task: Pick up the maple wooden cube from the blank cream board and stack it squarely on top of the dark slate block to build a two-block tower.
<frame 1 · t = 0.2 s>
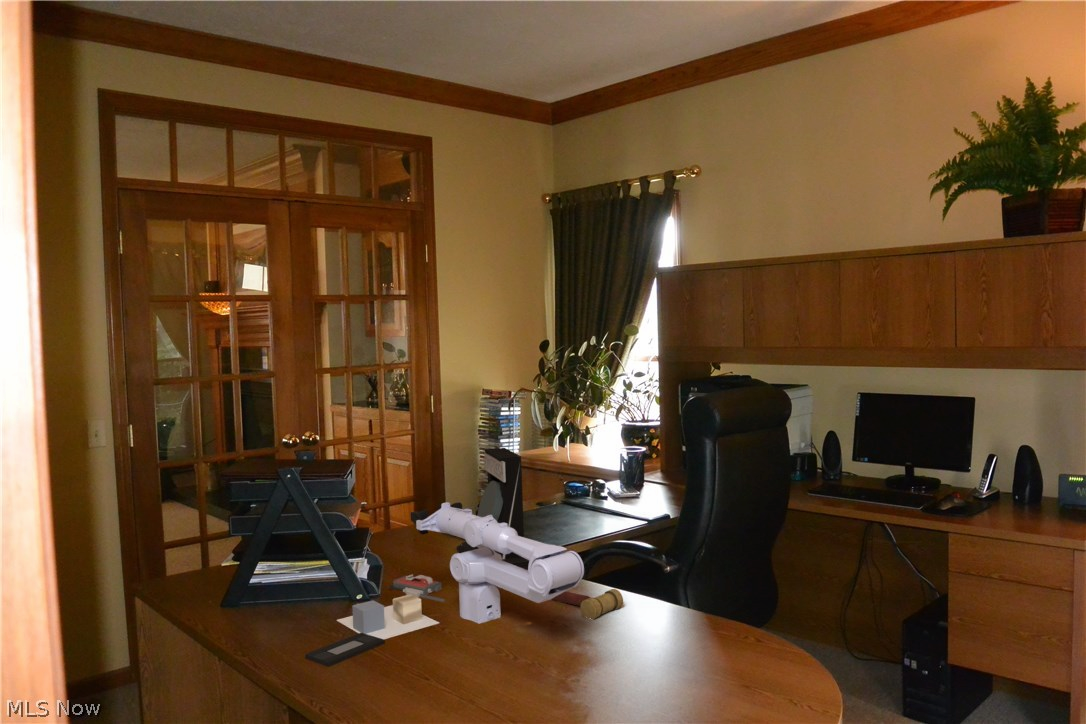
hand: (425, 513, 202), 21 cm above the table, tool horizontal, fingers open, 7 cm apart
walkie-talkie: (423, 597, 206), on the table
award: (497, 558, 238), on the table
gavel: (575, 607, 195), on the table
vhs tape: (346, 657, 169), on the table, touching blank cream board
maple cube: (407, 619, 186), point 1 cm above the table, touching blank cream board
slate block: (369, 628, 181), point 1 cm above the table, touching blank cream board
blank cream board: (387, 625, 185), on the table
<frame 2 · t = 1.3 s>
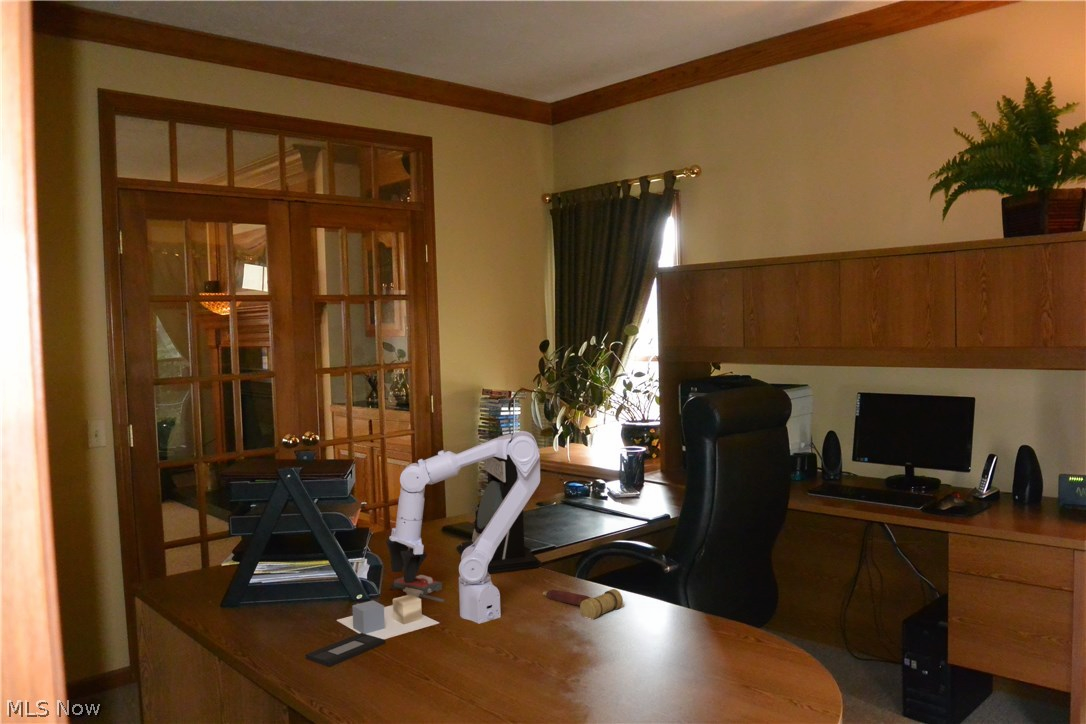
hand: (402, 576, 187), 10 cm above the table, tool pointing down, fingers open, 7 cm apart
nothing on the table moved.
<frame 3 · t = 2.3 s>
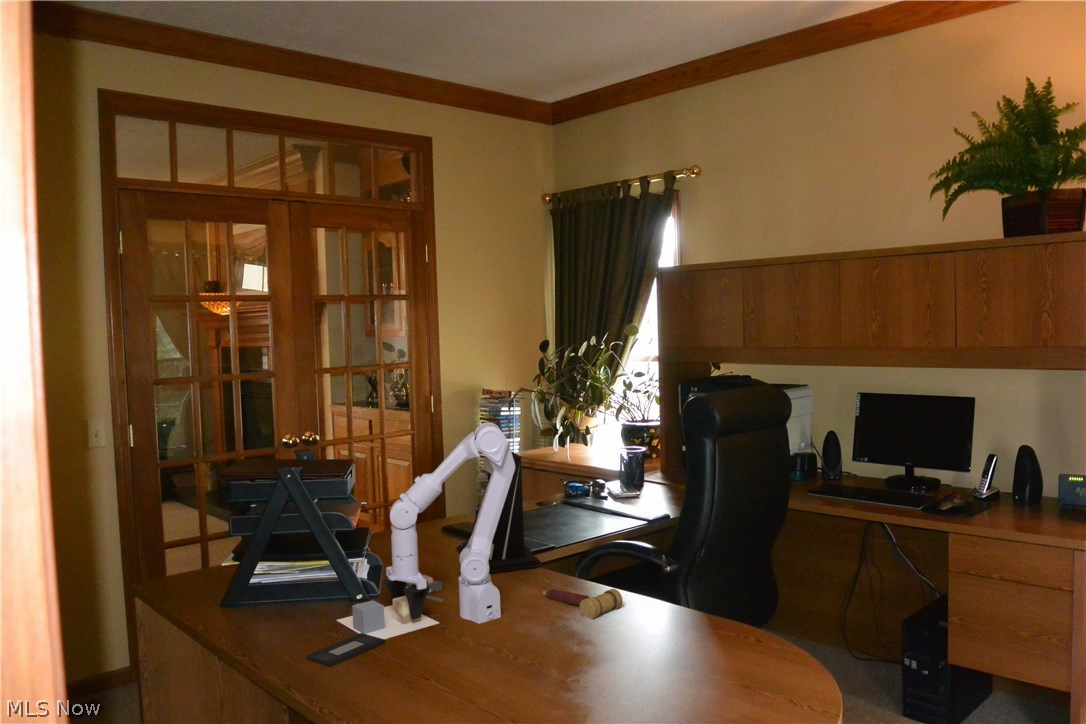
hand: (407, 613, 186), 2 cm above the table, tool pointing down, fingers open, 7 cm apart
nothing on the table moved.
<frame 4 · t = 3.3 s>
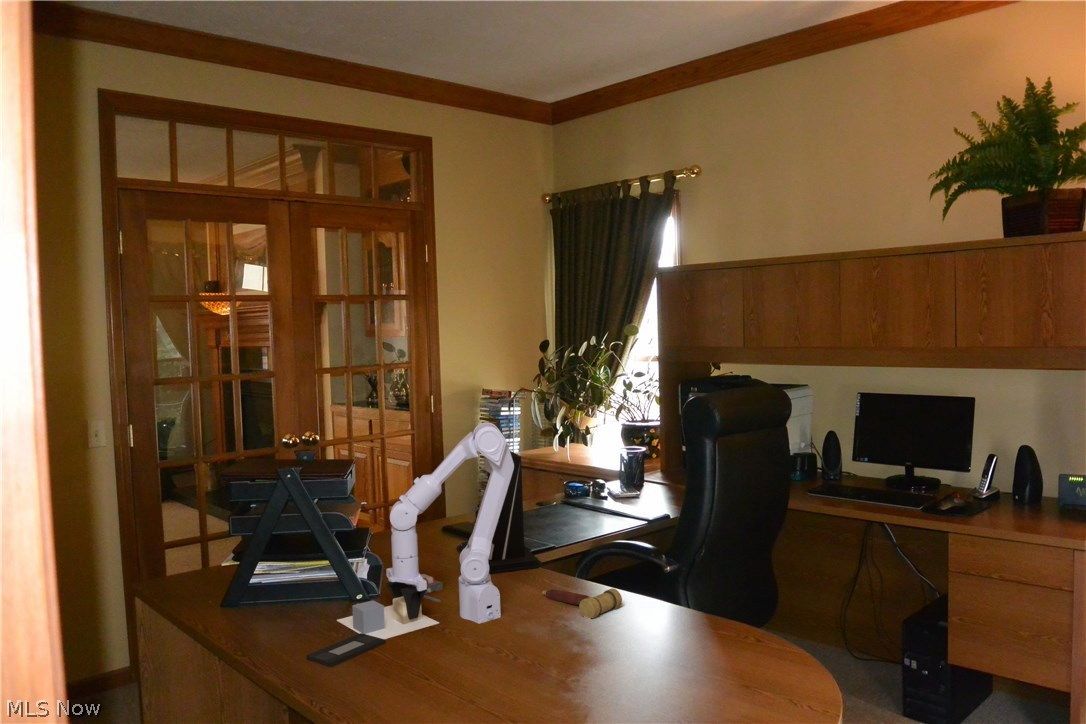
hand: (407, 615, 186), 2 cm above the table, tool pointing down, fingers closed on maple cube, 5 cm apart
maple cube: (407, 619, 186), point 1 cm above the table, touching blank cream board, gripper
everything else where it was.
when the fingers open (8 cm above the table, at t = 6.5 s): maple cube stays where it is, resting on slate block.
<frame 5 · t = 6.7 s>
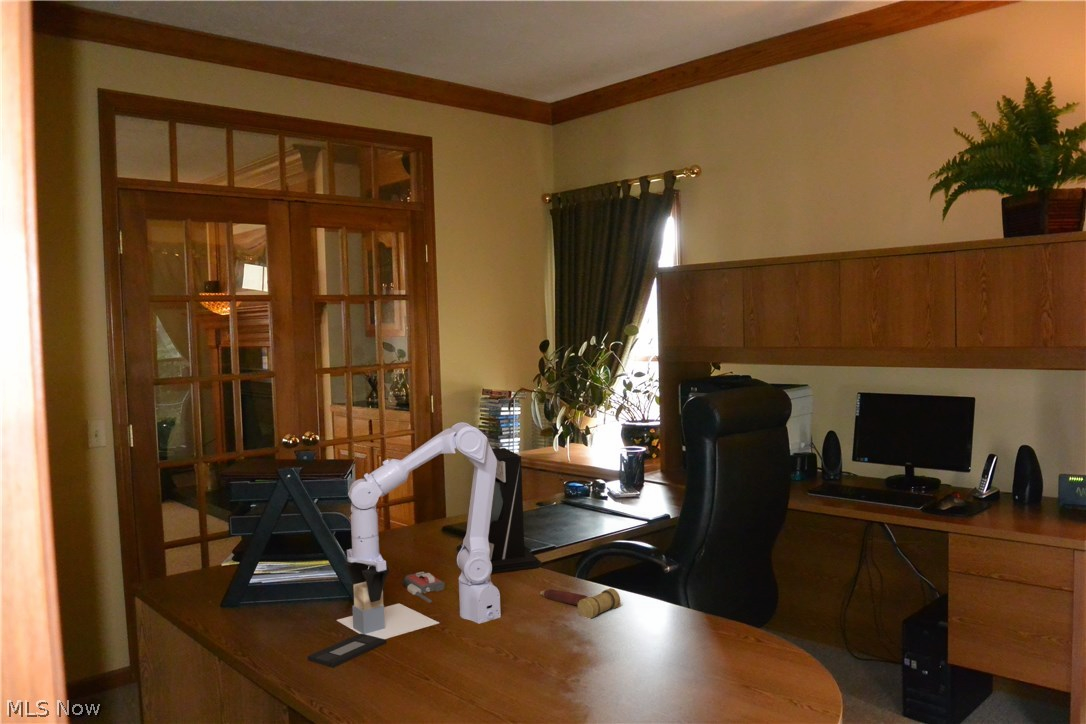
hand: (367, 597, 181), 8 cm above the table, tool pointing down, fingers open, 6 cm apart
maple cube: (368, 605, 181), point 6 cm above the table, touching slate block
slate block: (369, 628, 181), point 1 cm above the table, touching blank cream board, maple cube
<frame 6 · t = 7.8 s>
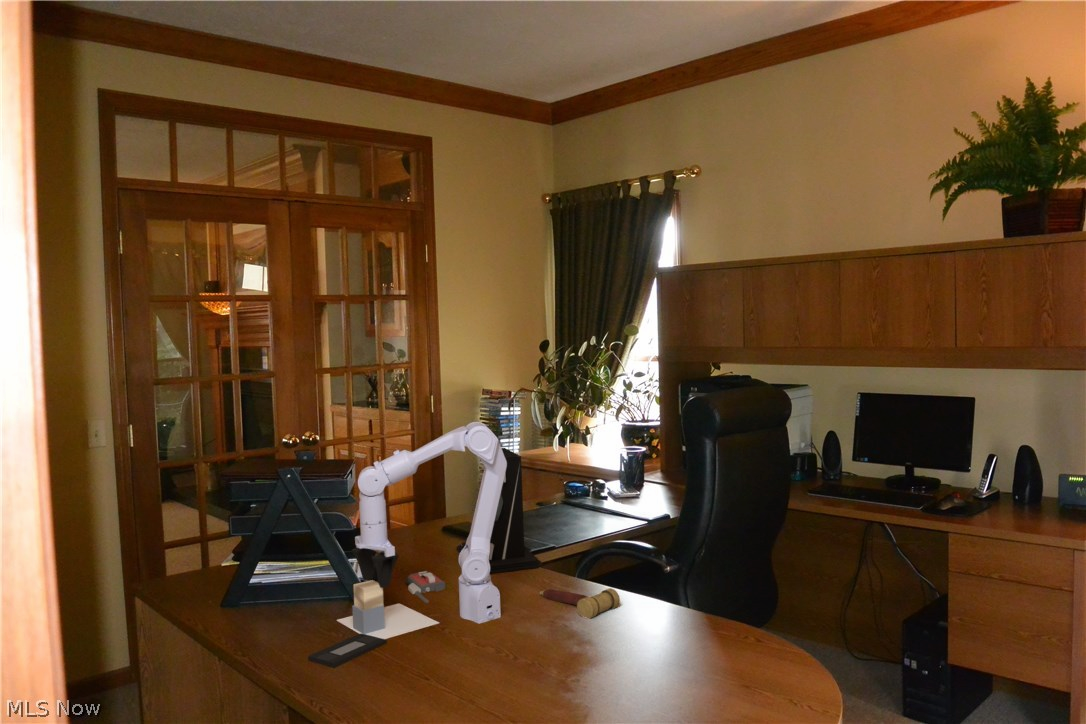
hand: (376, 582, 184), 10 cm above the table, tool pointing down, fingers open, 7 cm apart
maple cube: (368, 605, 181), point 6 cm above the table, touching gripper
slate block: (369, 628, 181), point 1 cm above the table, touching blank cream board
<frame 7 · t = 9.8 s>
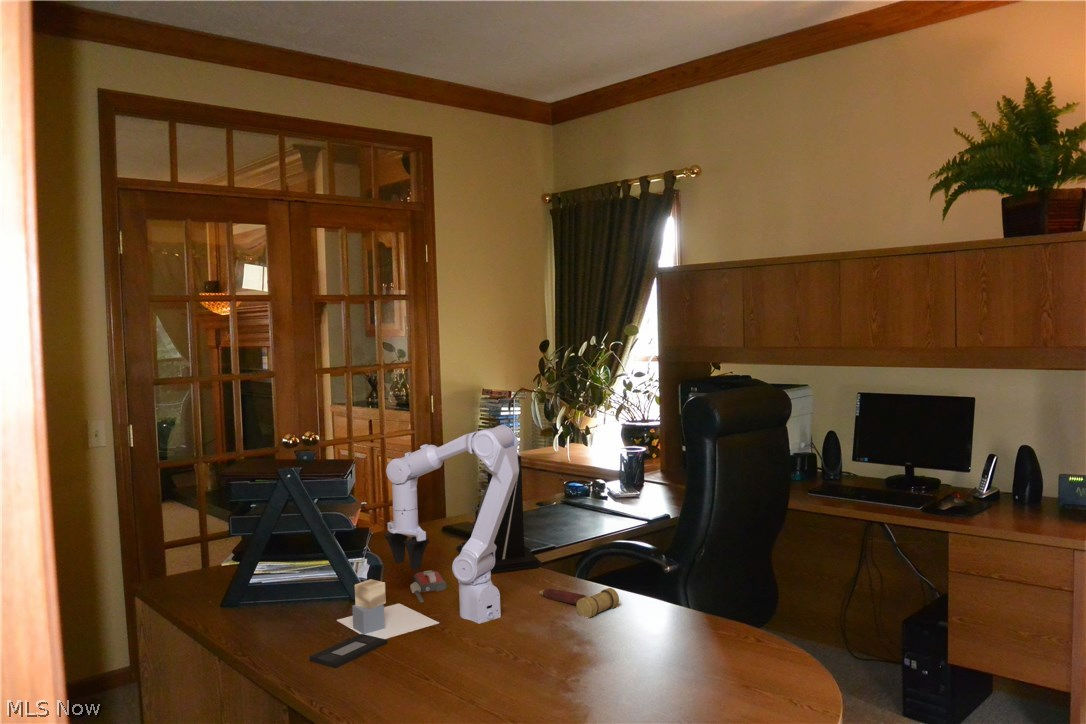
hand: (407, 565, 195), 10 cm above the table, tool pointing down, fingers open, 7 cm apart
maple cube: (370, 604, 182), point 6 cm above the table, touching slate block
slate block: (369, 628, 181), point 1 cm above the table, touching blank cream board, maple cube
at the end: maple cube 0.9 cm off-centre on the slate block, point 5.0 cm above the slate block's base; maple cube tilted 0°; the gripper is holding nothing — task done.
